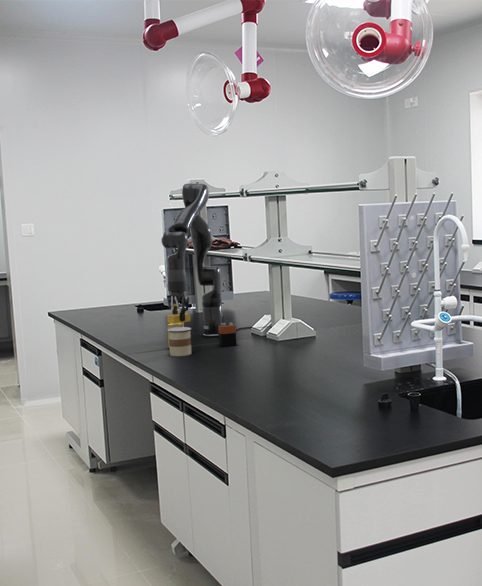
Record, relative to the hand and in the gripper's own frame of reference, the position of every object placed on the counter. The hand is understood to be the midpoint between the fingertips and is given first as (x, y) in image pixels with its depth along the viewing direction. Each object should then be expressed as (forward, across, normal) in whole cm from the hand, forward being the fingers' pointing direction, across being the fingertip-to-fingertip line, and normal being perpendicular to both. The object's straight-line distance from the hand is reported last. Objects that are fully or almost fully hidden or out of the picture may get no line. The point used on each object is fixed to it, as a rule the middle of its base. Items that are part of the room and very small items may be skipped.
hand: (179, 320), depth 293 cm
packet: (+1, 0, 0) cm, 1 cm away
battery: (+14, 0, -24) cm, 28 cm away
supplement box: (+14, +13, -6) cm, 20 cm away
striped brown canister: (+14, 0, 0) cm, 14 cm away
